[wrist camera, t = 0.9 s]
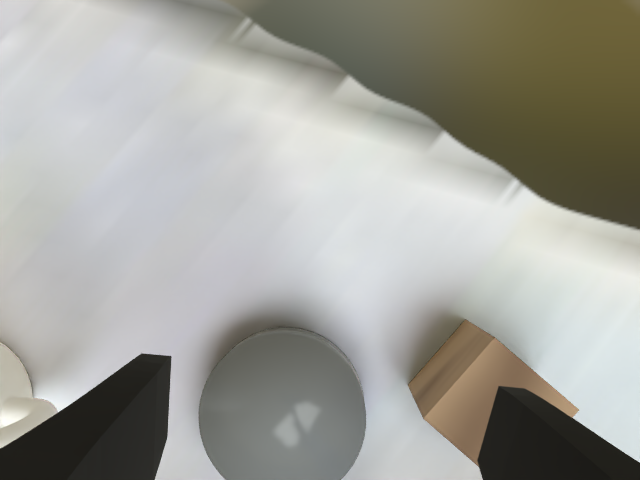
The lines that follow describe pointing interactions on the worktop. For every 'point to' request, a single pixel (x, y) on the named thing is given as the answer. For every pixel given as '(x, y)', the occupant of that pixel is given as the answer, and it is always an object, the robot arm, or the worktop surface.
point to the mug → (18, 400)
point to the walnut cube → (473, 386)
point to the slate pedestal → (283, 409)
